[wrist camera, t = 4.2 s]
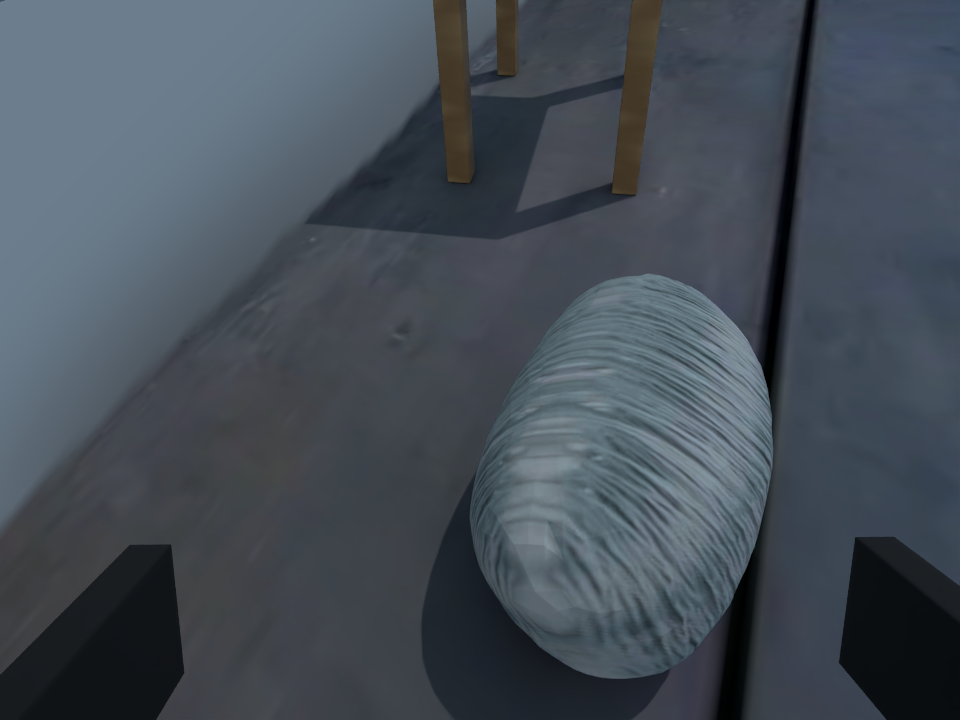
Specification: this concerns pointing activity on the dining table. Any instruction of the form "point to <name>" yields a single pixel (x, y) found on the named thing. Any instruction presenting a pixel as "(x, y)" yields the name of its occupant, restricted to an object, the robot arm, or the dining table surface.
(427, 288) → the dining table surface
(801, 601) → the dining table surface
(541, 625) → the grey streaked ellipsoid
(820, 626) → the dining table surface
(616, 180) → the wooden chair
